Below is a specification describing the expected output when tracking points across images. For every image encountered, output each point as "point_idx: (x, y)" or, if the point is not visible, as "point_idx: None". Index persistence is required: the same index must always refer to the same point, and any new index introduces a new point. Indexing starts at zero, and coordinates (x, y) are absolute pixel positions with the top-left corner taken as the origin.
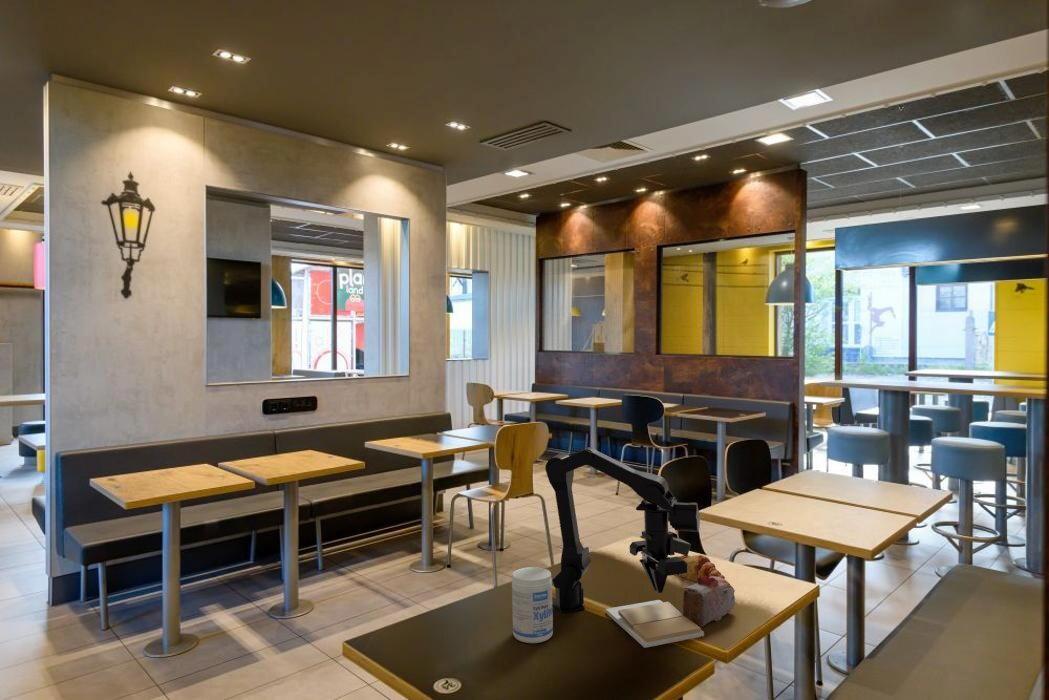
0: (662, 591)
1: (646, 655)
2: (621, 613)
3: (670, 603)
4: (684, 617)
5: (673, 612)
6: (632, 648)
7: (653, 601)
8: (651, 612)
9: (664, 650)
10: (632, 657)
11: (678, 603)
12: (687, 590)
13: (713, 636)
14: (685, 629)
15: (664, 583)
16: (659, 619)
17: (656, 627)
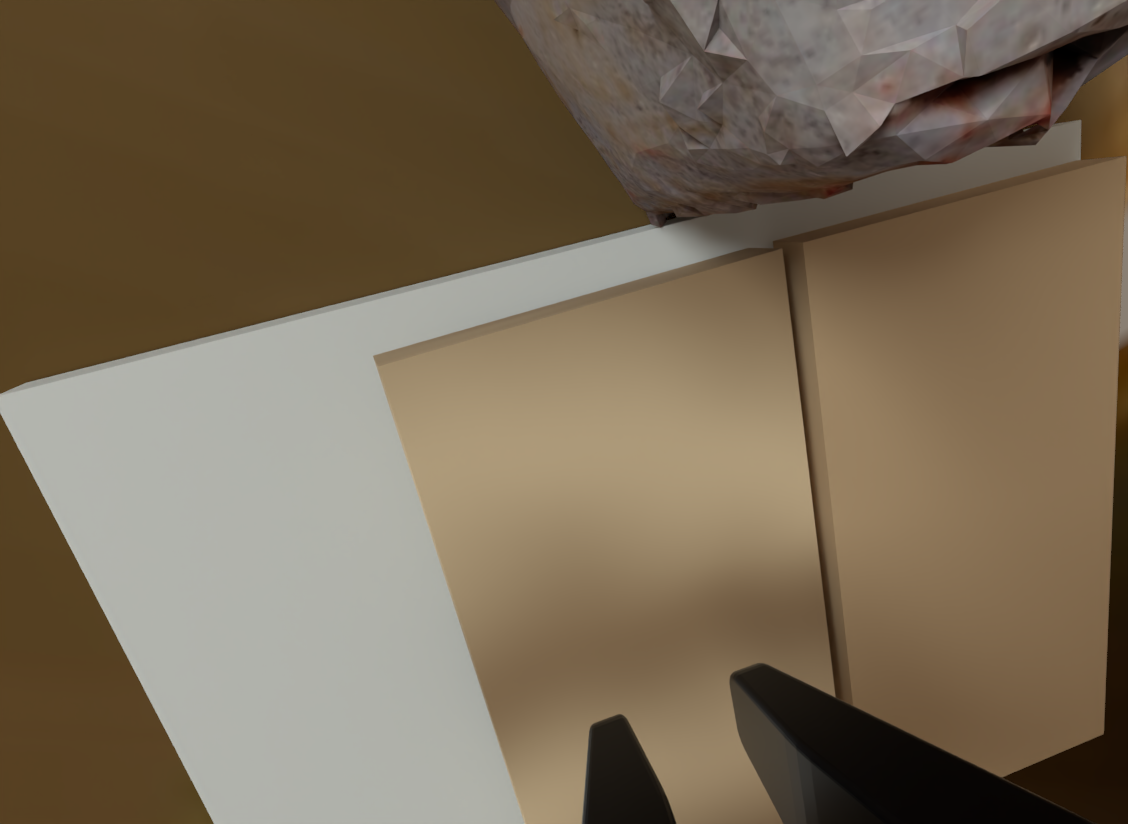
0: (773, 669)
1: (1124, 699)
2: None
3: (443, 346)
4: (838, 258)
5: (696, 370)
6: (1013, 780)
7: (80, 506)
8: (666, 653)
9: (1115, 567)
10: (1112, 784)
11: (6, 62)
12: (1047, 96)
13: None
14: (1094, 351)
15: (991, 788)
16: (816, 576)
17: (964, 633)
